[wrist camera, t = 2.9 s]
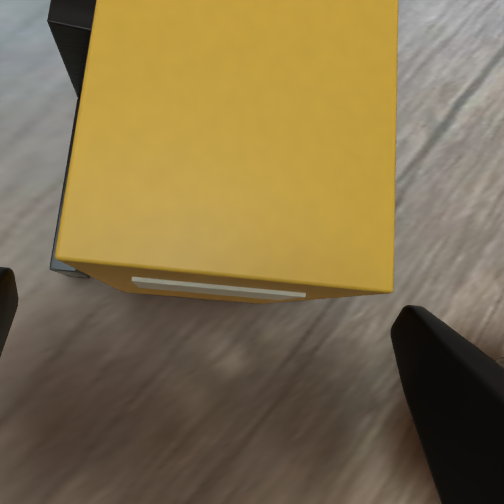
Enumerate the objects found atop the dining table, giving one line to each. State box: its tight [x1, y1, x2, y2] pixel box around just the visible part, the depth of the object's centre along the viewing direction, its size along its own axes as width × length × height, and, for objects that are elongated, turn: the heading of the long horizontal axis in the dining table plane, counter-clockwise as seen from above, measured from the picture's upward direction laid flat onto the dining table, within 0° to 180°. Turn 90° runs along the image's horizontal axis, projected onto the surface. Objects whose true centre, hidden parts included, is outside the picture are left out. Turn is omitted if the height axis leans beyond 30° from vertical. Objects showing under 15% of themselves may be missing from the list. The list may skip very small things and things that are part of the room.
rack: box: [47, 0, 96, 278], centre depth 16 cm, size 8×12×8 cm
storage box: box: [55, 0, 398, 304], centre depth 14 cm, size 8×7×12 cm
